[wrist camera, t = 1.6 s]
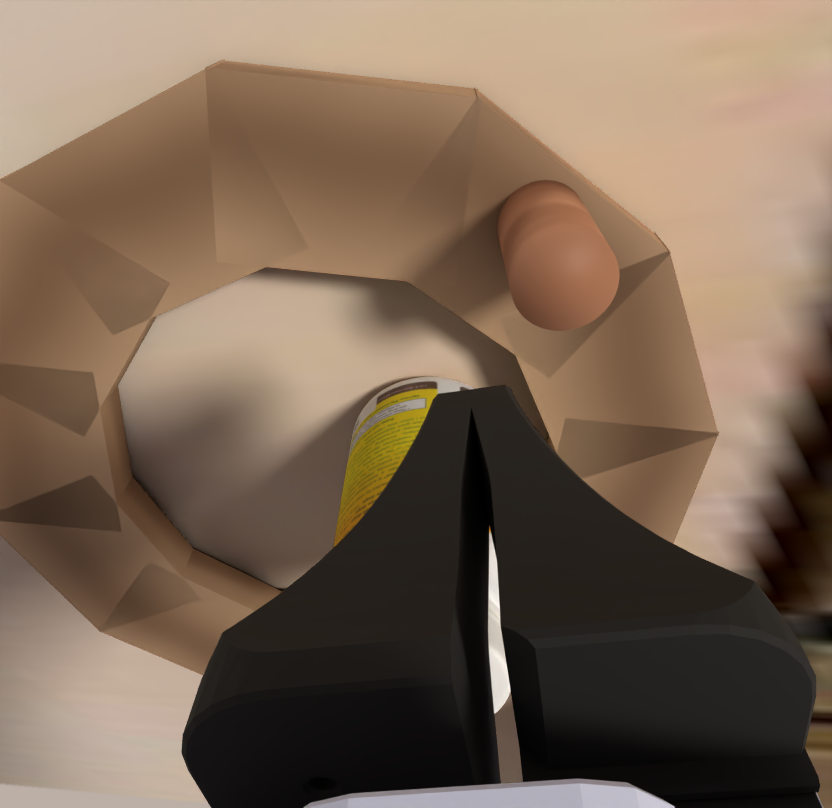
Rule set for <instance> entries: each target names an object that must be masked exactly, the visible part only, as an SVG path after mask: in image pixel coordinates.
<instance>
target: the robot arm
mask: <svg viewBox="0 0 832 808" xmlns="http://www.w3.org/2000/svg"><path fill="white" fill-rule="evenodd" d="M489 526H490V530H491V535H492V540H493V545H494V549H495V554H496V559H497V570H498V586H499V604H500V626H501V632H502V639H503V645H504V651H505V658H506V664H507V670H508V677H509V683H510V689H511V696H512V702H513V709H514V715H515V721H516V728H517V734H518V740H519V747H520V757H521V767H522V776H523V782H518V783H503V784H501V781H500V770H499V760H498V749H497V738H496V727H495V716H494V705H493V694H492V682H491V671H490V659H489V640H488V602H489ZM815 698H816V675H815V673H814V671H813V669H812V667H811V665H810V663H809V660H808V658H807V656H806V654H805V652H804V650H803V648H802V646H801V645H800V643H799V641H798V640H797V638H796V636H795V635H794V633H793V632H792V630H791V629H790V627H789V626H788V624H787V623H786V622H785V620H784V619H783V618H782V616H781V615H780V613H779V612H778V611H777V609H776V608H775V607H774V605H773V604H772V603H771V601H770V600H769V599H768V597H767V596H766V595H765V593H764V592H763V591H762V590H761V588H760V587H759V586H758V584H757V583H755V582H754V581H752V580H750V579H748V578H745V577H743V576H741V575H739V574H736V573H734V572H732V571H729V570H727V569H725V568H723V567H720V566H718V565H716V564H713V563H711V562H709V561H706V560H704V559H702V558H700V557H698V556H696V555H693V554H691V553H690V552H688V551H686V550H684V549H682V548H680V547H678V546H676V545H675V544H673V543H671V542H669V541H667V540H665V539H663V538H662V537H660V536H658V535H657V534H655V533H653V532H652V531H650V530H649V529H647V528H646V527H644V526H643V525H641V524H639V523H638V522H636V521H635V520H633V519H632V518H630V517H629V516H627V515H626V514H624V513H623V512H622V511H620V510H619V509H618V508H616V507H615V506H614V505H612V504H611V503H610V502H608V501H607V500H606V499H605V498H603V497H602V496H601V495H600V494H599V493H597V492H596V491H595V490H594V489H593V488H591V487H590V486H589V485H588V484H587V483H586V482H585V481H583V480H582V479H581V478H580V477H579V476H578V475H577V474H576V473H575V472H574V471H573V470H572V469H571V468H570V467H569V466H568V465H567V464H566V463H565V462H564V461H563V460H562V459H561V458H560V457H559V456H558V455H557V453H556V452H555V451H554V450H553V449H552V448H551V447H550V446H549V444H548V443H547V442H546V441H545V440H544V438H543V437H542V436H541V435H540V433H539V432H538V431H537V430H536V429H535V427H534V426H533V425H532V423H531V422H530V421H529V419H528V418H527V416H526V415H525V413H524V412H523V410H522V409H521V407H520V406H519V404H518V402H517V400H516V398H515V397H514V394H513V392H512V390H511V389H510V388H509V387H507V386H506V385H501V386H493V387H485V388H478V389H470V390H463V391H455V392H447V393H440V394H437V395H436V397H435V398H434V399H433V400H432V403H431V406H430V408H429V411H428V413H427V415H426V418H425V420H424V422H423V424H422V426H421V428H420V430H419V432H418V434H417V436H416V438H415V440H414V441H413V443H412V445H411V447H410V448H409V450H408V452H407V454H406V456H405V457H404V459H403V461H402V462H401V464H400V466H399V467H398V469H397V470H396V472H395V473H394V475H393V476H392V478H391V479H390V481H389V482H388V484H387V485H386V487H385V488H384V490H383V491H382V493H381V494H380V495H379V497H378V498H377V499H376V501H375V502H374V503H373V504H372V506H371V507H370V508H369V510H368V511H367V512H366V513H365V514H364V516H363V517H362V518H361V519H360V520H359V522H358V523H357V524H356V525H355V526H354V527H353V528H352V529H351V531H350V532H349V533H348V534H347V535H346V536H345V537H344V538H343V539H342V540H341V541H340V542H339V543H338V544H337V545H336V546H335V547H334V548H333V549H332V550H331V551H330V552H329V553H328V554H327V555H326V556H325V557H324V558H323V559H321V560H320V561H319V562H318V563H317V564H316V565H315V566H313V567H312V568H311V569H310V570H309V571H308V572H306V573H305V574H304V575H303V576H302V577H300V578H299V579H298V580H297V581H295V582H294V583H293V584H292V585H290V586H289V587H288V588H286V589H285V590H284V591H283V592H281V593H280V594H279V595H277V596H276V597H275V598H273V599H272V600H270V601H269V602H267V603H266V604H264V605H263V606H262V607H260V608H259V609H257V610H256V611H254V612H253V613H251V614H250V615H248V616H247V617H245V618H244V619H242V620H241V621H239V622H238V623H236V624H235V625H233V626H232V627H230V628H229V629H227V630H225V631H224V632H223V633H222V634H221V637H220V639H219V641H218V644H217V646H216V648H215V650H214V652H213V654H212V656H211V658H210V660H209V662H208V665H207V667H206V670H205V672H204V675H203V677H202V680H201V682H200V685H199V688H198V691H197V694H196V697H195V700H194V703H193V706H192V709H191V712H190V715H189V718H188V721H187V724H186V727H185V730H184V733H183V740H182V755H183V758H184V760H185V763H186V766H187V768H188V771H189V772H190V774H191V775H192V777H193V779H194V780H195V782H196V784H197V785H198V787H199V789H200V790H201V792H202V793H203V795H204V797H205V798H206V800H207V802H208V803H209V805H210V806H211V808H823V806H822V804H821V802H820V800H819V797H818V795H817V793H816V792H819V788H820V783H819V778H818V775H817V773H816V771H815V769H814V767H813V765H812V762H811V760H810V758H809V756H808V754H807V752H806V750H805V744H806V739H807V735H808V730H809V726H810V721H811V716H812V712H813V707H814V703H815Z"/></svg>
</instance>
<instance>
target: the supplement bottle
mask: <svg viewBox="0 0 832 808" xmlns="http://www.w3.org/2000/svg"><path fill="white" fill-rule="evenodd" d="M470 389H475V388H473V387H471V386H469V385H467V384H465V383H462V382H459V381H456V380H453V379H448V378H443V377H418V378H412V379H407V380H404V381H401V382H398V383H396V384H393V385H391V386H389V387H387V388H385V389H383V390H382V391H381V392H379V393H378V394H377V395H375V396H374V397H373V398H372V399H371V400H370V401H369V402H368V403H367V404H366V406H365V407H364V408H363V410H362V411H361V413H360V415H359V417H358V419H357V421H356V423H355V426H354V430H353V434H352V439H351V445H350V451H349V456H348V462H347V468H346V473H345V480H344V486H343V492H342V498H341V504H340V510H339V516H338V522H337V528H336V534H335V540H334V547H335V546H336V545H337V544H338V543H339V542H340V541H341V540H342V539H343V538H344V537H345V536H346V535H347V534H348V533H349V532H350V531H351V529H352V528H353V527H354V526H355V525H356V524H357V523H358V522H359V520H360V519H361V518H362V517H363V516H364V514H365V513H366V512H367V511H368V510H369V508H370V507H371V506H372V504H373V503H374V502H375V501H376V499H377V498H378V497H379V495H380V494H381V493H382V491H383V490H384V488H385V487H386V485H387V484H388V482H389V481H390V479H391V478H392V476H393V475H394V473H395V472H396V470H397V469H398V467H399V466H400V464H401V462H402V461H403V459H404V457H405V456H406V454H407V452H408V450H409V448H410V447H411V445H412V443H413V441H414V440H415V438H416V436H417V434H418V432H419V430H420V428H421V426H422V424H423V422H424V420H425V418H426V415H427V413H428V411H429V408H430V406H431V403H432V400H433V399H434V398H435V397H436V395H437V394H440V393H447V392H455V391H463V390H470ZM334 547H333V548H334ZM488 640H489V659H490V671H491V682H492V694H493V705H494V714H495V713H496V712H497V711H498V710H500V708H501V707H502V706H503V705H504V703H505V702H506V700H507V698H508V696H509V694H510V690H511V689H510V683H509V677H508V670H507V664H506V658H505V651H504V645H503V639H502V632H501V626H500V604H499V586H498V570H497V559H496V554H495V549H494V545H493V540H492V535H491V530H490V526H489V602H488Z"/></svg>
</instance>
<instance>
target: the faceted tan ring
mask: <svg viewBox="0 0 832 808" xmlns="http://www.w3.org/2000/svg"><path fill="white" fill-rule="evenodd" d="M670 254H671V253H670V251H669V250H668V248H667V247H666V246H665V245H664V243H663V242H662V241H661V240H660V238H659V237H658V236H657V235H656V233H653V232H652V231H651V230H650V229H648V228H647V227H646V226H645V225H643V224H642V223H641V222H640V221H639V220H637V219H636V218H635V217H634V216H632V215H631V214H630V213H629V212H627V211H626V210H625V209H624V208H622V207H621V206H620V205H619V204H618V203H616V202H615V201H614V200H613V199H611V198H610V197H609V196H608V195H606V194H605V193H604V192H603V191H602V190H600V189H599V188H598V187H597V186H595V185H594V184H593V183H592V182H590V181H589V180H588V179H587V178H585V177H584V176H583V175H582V174H581V173H579V172H578V171H577V170H576V169H574V168H573V167H572V166H571V165H569V164H568V163H567V162H566V161H565V160H563V159H562V158H561V157H560V156H558V155H557V154H556V153H555V152H553V151H552V150H551V149H550V148H548V147H547V146H546V145H545V144H544V143H542V142H541V141H540V140H539V139H537V138H536V137H535V136H534V135H532V134H531V133H530V132H529V131H528V130H526V129H525V128H524V127H523V126H521V125H520V124H519V123H518V122H516V121H515V120H514V119H513V118H511V117H510V116H509V115H508V114H507V113H505V112H504V111H503V110H502V109H500V108H499V107H498V106H497V105H495V104H494V103H493V102H492V101H490V100H489V99H488V98H487V97H486V96H484V95H483V94H482V93H481V92H479V90H478V89H476V88H474V89H472V88H463V87H454V86H445V85H436V84H427V83H418V82H409V81H400V80H391V79H382V78H373V77H364V76H356V75H347V74H338V73H329V72H320V71H311V70H302V69H293V68H284V67H275V66H266V65H257V64H248V63H239V62H230V61H225V60H223V61H219V62H217V63H215V64H212V65H210V66H208V67H206V68H205V70H203V71H201V72H199V73H197V74H195V75H193V76H192V77H190V78H188V79H186V80H184V81H182V82H180V83H179V84H177V85H175V86H173V87H171V88H169V89H168V90H166V91H164V92H162V93H160V94H158V95H156V96H155V97H153V98H151V99H149V100H147V101H145V102H144V103H142V104H140V105H138V106H136V107H134V108H132V109H131V110H129V111H127V112H125V113H123V114H121V115H119V116H118V117H116V118H114V119H112V120H110V121H108V122H107V123H105V124H103V125H101V126H99V127H97V128H95V129H94V130H92V131H90V132H88V133H86V134H84V135H82V136H81V137H79V138H77V139H75V140H73V141H71V142H70V143H68V144H66V145H64V146H62V147H60V148H58V149H57V150H55V151H53V152H51V153H49V154H47V155H46V156H44V157H42V158H40V159H38V160H36V161H34V162H33V163H31V164H29V165H27V166H25V167H23V168H21V169H19V170H17V171H15V172H13V173H11V174H9V175H7V176H5V177H3V178H1V179H0V535H1V536H2V537H3V538H4V539H5V540H6V541H7V542H8V543H9V544H10V545H11V546H12V547H13V548H14V549H15V550H16V551H17V552H18V553H19V554H20V555H21V556H22V557H23V558H25V559H26V560H27V561H28V562H29V563H30V564H31V565H32V566H33V567H34V568H35V569H36V570H37V571H38V572H39V573H40V574H41V575H42V576H43V577H44V578H45V579H46V580H47V581H48V582H49V583H50V584H51V585H52V586H53V587H55V588H56V589H57V590H58V591H59V592H60V593H61V594H62V595H63V596H64V597H65V598H66V599H67V600H68V601H69V602H70V603H71V604H72V605H73V606H74V607H75V608H76V609H77V610H78V611H79V612H80V613H81V614H82V615H84V616H85V617H86V618H87V619H88V620H89V621H90V622H91V623H92V624H93V625H94V626H95V627H96V628H97V629H98V630H99V631H100V632H103V633H105V634H107V635H110V636H112V637H114V638H117V639H119V640H122V641H124V642H126V643H129V644H131V645H133V646H136V647H138V648H140V649H143V650H145V651H147V652H150V653H152V654H154V655H157V656H159V657H162V658H164V659H166V660H169V661H171V662H173V663H176V664H178V665H180V666H183V667H185V668H187V669H190V670H192V671H194V672H197V673H199V674H202V675H204V672H205V670H206V667H207V665H208V662H209V660H210V658H211V656H212V654H213V652H214V650H215V648H216V646H217V644H218V641H219V639H220V637H221V634H222V633H223V632H224V631H225V630H227V629H229V628H230V627H232V626H233V625H235V624H236V623H238V622H239V621H241V620H242V619H244V618H245V617H247V616H248V615H250V614H251V613H253V612H254V611H256V610H257V609H259V608H260V607H262V606H263V605H264V604H266V603H267V602H269V601H270V600H272V599H273V598H275V597H276V596H277V595H279V594H280V593H281V592H283V591H280V590H278V589H276V588H274V587H272V586H269V585H267V584H265V583H263V582H261V581H259V580H257V579H255V578H253V577H251V576H249V575H247V574H245V573H243V572H240V571H238V570H236V569H234V568H232V567H230V566H228V565H226V564H224V563H222V562H220V561H218V560H216V559H214V558H211V557H209V556H207V555H205V554H203V553H201V552H199V551H197V550H195V549H193V548H192V547H191V545H190V544H189V543H188V542H187V541H186V539H185V538H184V537H183V536H182V535H181V534H180V532H179V531H178V530H177V529H176V528H175V526H174V525H173V524H172V523H171V522H170V521H169V519H168V518H167V517H166V516H165V515H164V513H163V512H162V511H161V510H160V509H159V508H158V506H157V505H156V504H155V503H154V502H153V501H152V499H151V498H150V497H149V496H148V495H147V493H146V492H145V491H144V490H143V489H142V488H141V486H140V485H139V484H138V483H137V482H136V480H135V479H134V478H133V477H132V472H131V465H130V459H129V453H128V446H127V440H126V434H125V428H124V421H123V415H122V409H121V402H120V396H119V390H118V384H119V382H120V381H121V379H122V377H123V375H124V373H125V372H126V370H127V368H128V366H129V365H130V363H131V361H132V359H133V357H134V356H135V354H136V352H137V350H138V349H139V347H140V345H141V343H142V341H143V340H144V338H145V336H146V334H147V332H148V331H149V329H150V327H151V325H152V324H153V322H154V320H155V318H156V316H157V315H160V314H162V313H164V312H166V311H168V310H171V309H173V308H175V307H177V306H180V305H182V304H184V303H186V302H189V301H191V300H193V299H195V298H198V297H200V296H202V295H204V294H207V293H209V292H211V291H213V290H216V289H218V288H220V287H222V286H224V285H227V284H229V283H231V282H233V281H236V280H238V279H240V278H242V277H245V276H247V275H249V274H251V273H254V272H256V271H258V270H260V269H263V268H265V267H271V268H281V269H291V270H301V271H310V272H320V273H330V274H340V275H349V276H359V277H369V278H379V279H388V280H398V281H407V282H409V283H410V284H411V285H413V286H414V287H416V288H417V289H419V290H420V291H422V292H423V293H425V294H426V295H428V296H429V297H431V298H432V299H434V300H435V301H437V302H438V303H439V304H441V305H442V306H444V307H445V308H447V309H448V310H450V311H451V312H453V313H454V314H456V315H457V316H459V317H460V318H462V319H463V320H464V321H466V322H467V323H469V324H470V325H472V326H473V327H475V328H476V329H478V330H479V331H481V332H482V333H484V334H485V335H487V336H488V337H490V338H491V339H492V340H494V341H495V342H497V343H498V344H500V345H501V346H503V347H504V348H506V349H507V350H509V351H510V352H512V353H513V354H515V356H516V358H517V361H518V363H519V365H520V368H521V370H522V372H523V375H524V377H525V379H526V382H527V384H528V386H529V389H530V391H531V393H532V396H533V398H534V401H535V403H536V405H537V408H538V410H539V412H540V415H541V417H542V419H543V422H544V424H545V426H546V429H547V431H548V433H549V435H548V439H547V443H548V444H549V446H550V447H551V448H552V449H553V450H554V451H555V452H556V453H557V455H558V456H559V457H560V458H561V459H562V460H563V461H564V462H565V463H566V464H567V465H568V466H569V467H570V468H571V469H572V470H573V471H574V472H575V473H576V474H577V475H578V476H579V477H580V478H581V479H582V480H583V481H585V482H586V483H587V484H588V485H589V486H590V487H591V488H593V489H594V490H595V491H596V492H597V493H599V494H600V495H601V496H602V497H603V498H605V499H606V500H607V501H608V502H610V503H611V504H612V505H614V506H615V507H616V508H618V509H619V510H620V511H622V512H623V513H624V514H626V515H627V516H629V517H630V518H632V519H633V520H635V521H636V522H638V523H639V524H641V525H643V526H644V527H646V528H647V529H649V530H650V531H652V532H653V533H655V534H657V535H658V536H660V537H662V538H663V539H665V540H667V541H669V542H671V543H674V540H675V538H676V535H677V533H678V531H679V528H680V526H681V523H682V521H683V518H684V516H685V514H686V511H687V509H688V506H689V504H690V501H691V499H692V497H693V494H694V492H695V489H696V487H697V484H698V482H699V480H700V477H701V475H702V472H703V470H704V467H705V465H706V463H707V460H708V458H709V455H710V453H711V450H712V448H713V446H714V443H715V441H716V438H717V436H718V434H719V433H718V431H717V428H716V424H715V420H714V416H713V413H712V409H711V405H710V401H709V398H708V394H707V390H706V386H705V383H704V379H703V375H702V371H701V368H700V364H699V360H698V356H697V353H696V349H695V345H694V341H693V338H692V334H691V330H690V326H689V323H688V319H687V315H686V311H685V308H684V304H683V300H682V296H681V293H680V289H679V285H678V281H677V278H676V274H675V270H674V266H673V263H672V259H671V255H670Z"/></svg>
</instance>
